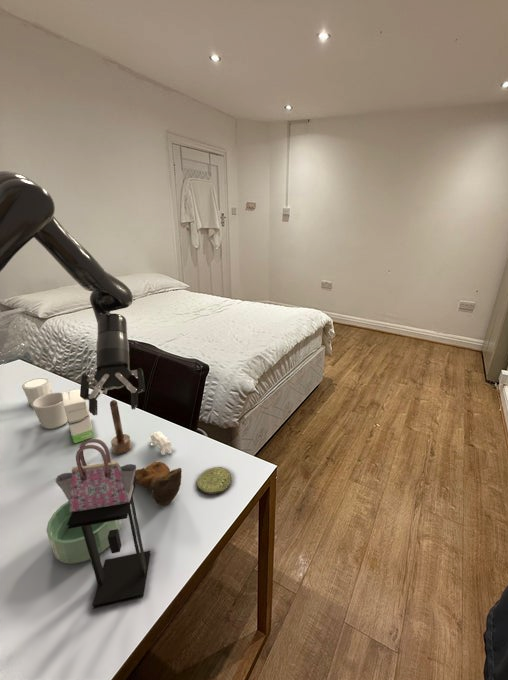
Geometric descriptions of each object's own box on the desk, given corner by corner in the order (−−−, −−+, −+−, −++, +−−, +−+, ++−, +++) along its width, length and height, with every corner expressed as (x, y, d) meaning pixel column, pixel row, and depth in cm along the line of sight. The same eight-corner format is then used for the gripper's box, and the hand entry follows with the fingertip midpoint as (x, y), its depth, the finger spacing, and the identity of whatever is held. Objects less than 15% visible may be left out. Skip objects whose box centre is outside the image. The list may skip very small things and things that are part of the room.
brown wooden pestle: (110, 455, 83) (99, 406, 77) (116, 443, 87) (106, 396, 81) (128, 453, 84) (119, 405, 78) (133, 442, 88) (125, 395, 82)
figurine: (164, 457, 83) (162, 443, 81) (148, 443, 88) (146, 429, 86) (172, 453, 85) (171, 438, 83) (157, 439, 89) (155, 425, 88)
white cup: (27, 400, 103) (21, 381, 100) (53, 393, 107) (48, 375, 104) (28, 410, 98) (22, 390, 95) (55, 403, 102) (50, 384, 100)
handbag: (158, 551, 61) (136, 420, 50) (152, 594, 54) (125, 454, 43) (95, 564, 58) (57, 429, 47) (81, 611, 51) (33, 466, 40)
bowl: (41, 569, 57) (33, 546, 55) (72, 514, 67) (65, 493, 65) (109, 561, 59) (103, 538, 56) (128, 509, 69) (124, 488, 66)
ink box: (94, 437, 89) (86, 401, 84) (73, 444, 86) (63, 407, 81) (90, 421, 95) (82, 386, 90) (70, 427, 92) (61, 392, 88)
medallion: (190, 488, 74) (190, 486, 74) (209, 465, 81) (209, 462, 81) (220, 499, 72) (220, 496, 72) (237, 474, 79) (237, 471, 79)
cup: (30, 421, 94) (22, 397, 91) (61, 408, 100) (55, 386, 97) (46, 435, 88) (38, 411, 85) (77, 421, 94) (72, 398, 92)
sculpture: (152, 475, 63) (135, 435, 74) (143, 520, 65) (127, 475, 76) (192, 468, 69) (170, 432, 80) (182, 510, 70) (162, 469, 81)
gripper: (77, 349, 80) (76, 414, 74) (140, 343, 85) (144, 403, 79) (86, 359, 86) (85, 419, 81) (144, 353, 92) (147, 409, 86)
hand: (114, 411), depth 80 cm, fingers open, 8 cm apart
